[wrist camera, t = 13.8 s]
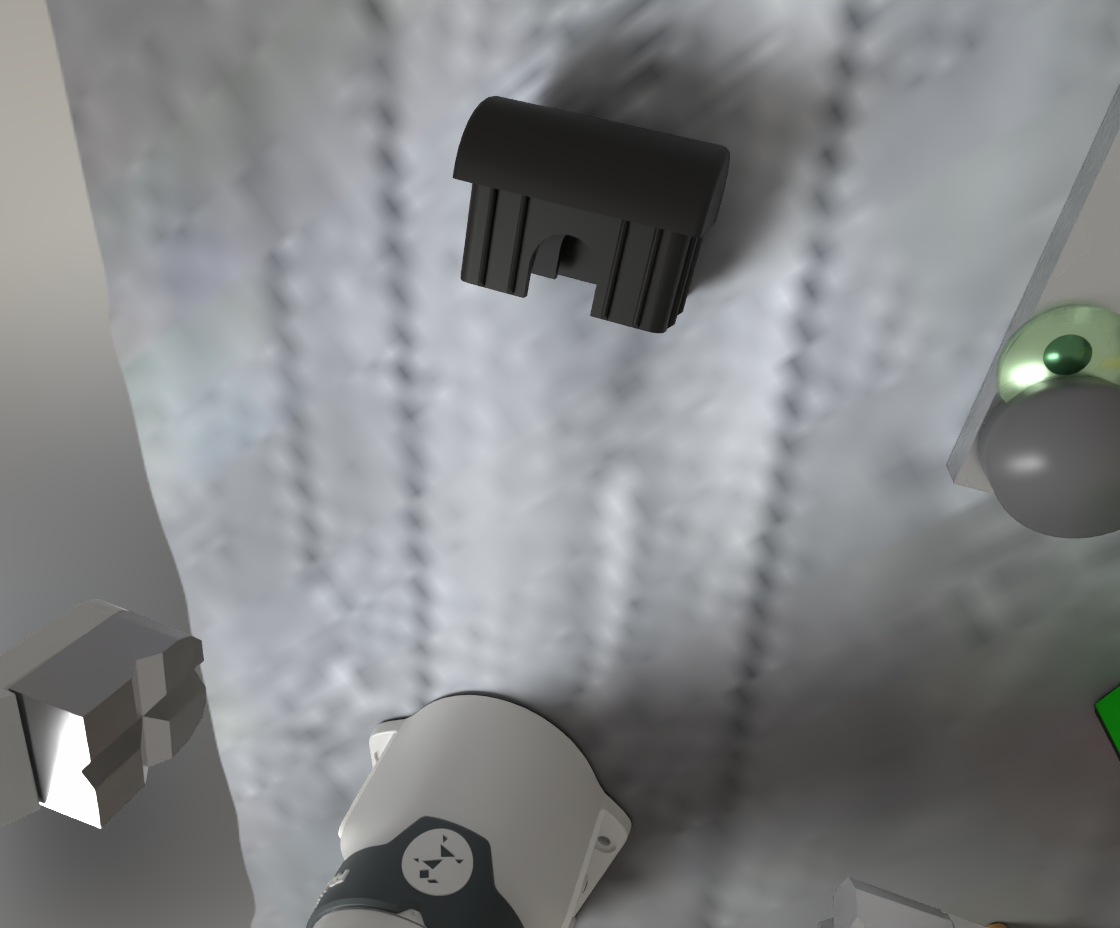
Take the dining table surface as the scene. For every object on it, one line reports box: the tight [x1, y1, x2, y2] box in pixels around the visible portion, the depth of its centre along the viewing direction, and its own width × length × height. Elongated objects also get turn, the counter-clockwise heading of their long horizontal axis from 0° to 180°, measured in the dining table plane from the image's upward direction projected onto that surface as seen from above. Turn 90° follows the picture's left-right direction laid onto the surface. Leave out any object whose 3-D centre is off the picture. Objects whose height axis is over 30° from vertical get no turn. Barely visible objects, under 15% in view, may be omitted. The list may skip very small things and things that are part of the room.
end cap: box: [453, 96, 730, 333], centre depth 31 cm, size 10×7×7 cm
